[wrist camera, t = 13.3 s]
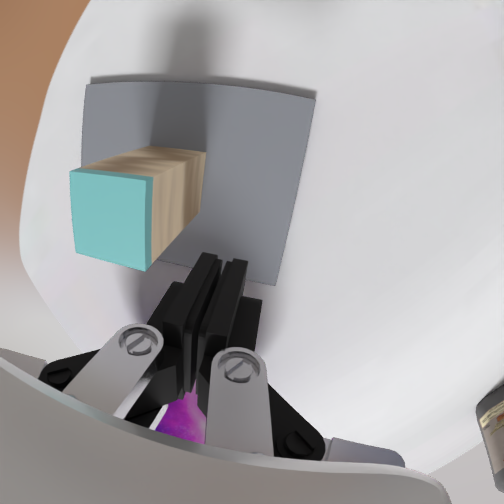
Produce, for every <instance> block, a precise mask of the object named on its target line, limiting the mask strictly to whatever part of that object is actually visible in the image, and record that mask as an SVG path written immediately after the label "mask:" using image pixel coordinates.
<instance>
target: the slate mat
mask: <svg viewBox="0 0 504 504" xmlns="http://www.w3.org/2000/svg"><path fill="white" fill-rule="evenodd" d="M315 101H316V100H315V99H310V98H305V97H301V96H296V95H290V94H285V93H279V92H274V91H267V90H261V89H254V88H246V87H238V86H229V85H219V84H207V83H192V82H165V81H141V82H114V83H99V84H88V85H86V91H85V100H84V111H83V126H82V150H81V167H83V166H86V165H89V164H92V163H94V162H97V161H100V160H103V159H107V158H110V157H113V156H116V155H119V154H122V153H126V152H129V151H133V150H136V149H140V148H143V147H147V146H157V147H167V148H176V149H184V150H192V151H200V152H206V159H205V168H204V176H203V185H202V195H201V205H200V212H199V213H198V214H197V215H196V216H195V217H194V218H193V219H192V221H191V222H190V223H189V224H188V225H187V226H186V227H185V228H184V229H183V230H182V231H181V232H180V233H179V235H178V236H177V237H176V238H175V239H174V240H173V241H172V242H171V243H170V244H169V246H168V247H167V248H166V249H165V250H164V251H163V252H162V253H161V255H160V256H159V257H158V258H157V260H161V261H165V262H169V263H174V264H178V265H182V266H186V267H191V268H193V267H194V265H195V264H196V262H197V260H198V259H199V257H200V255H201V254H202V252H206V253H211V254H216V255H218V259H221V260H223V264H222V271H223V269H224V266H225V264H226V262H227V261H231V262H232V260H233V258H236V259H241V260H246V261H248V267H247V273H246V279H245V280H249V281H254V282H259V283H263V284H268V285H273V286H275V285H276V281H277V277H278V273H279V269H280V264H281V260H282V256H283V252H284V247H285V243H286V239H287V234H288V230H289V226H290V221H291V217H292V212H293V208H294V203H295V199H296V194H297V190H298V185H299V180H300V176H301V171H302V166H303V161H304V157H305V152H306V147H307V142H308V137H309V132H310V127H311V122H312V117H313V111H314V106H315ZM221 274H222V272H221Z"/></svg>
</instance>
